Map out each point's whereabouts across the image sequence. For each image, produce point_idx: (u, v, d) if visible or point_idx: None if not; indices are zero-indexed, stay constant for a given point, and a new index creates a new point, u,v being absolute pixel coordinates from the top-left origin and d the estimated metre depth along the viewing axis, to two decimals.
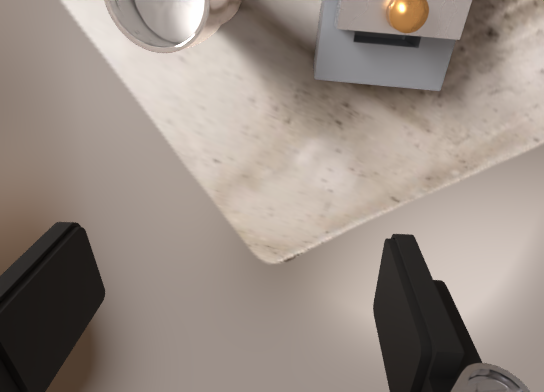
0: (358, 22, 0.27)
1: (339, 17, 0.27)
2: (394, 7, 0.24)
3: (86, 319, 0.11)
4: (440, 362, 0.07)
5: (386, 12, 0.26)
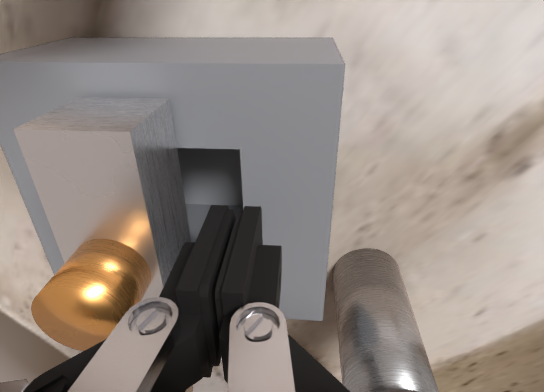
0: (52, 182, 0.10)
1: (44, 131, 0.09)
2: (77, 290, 0.09)
3: None
4: (228, 302, 0.08)
5: (95, 242, 0.10)
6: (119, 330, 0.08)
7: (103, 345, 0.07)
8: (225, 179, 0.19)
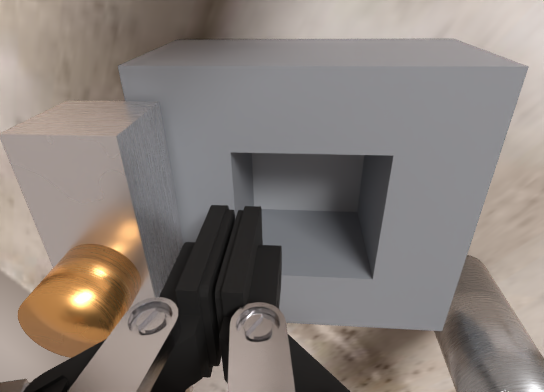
0: (39, 188, 0.10)
1: (30, 135, 0.09)
2: (63, 296, 0.09)
3: None
4: (228, 302, 0.08)
5: (83, 247, 0.10)
6: (119, 330, 0.08)
7: (103, 345, 0.07)
8: (325, 184, 0.18)
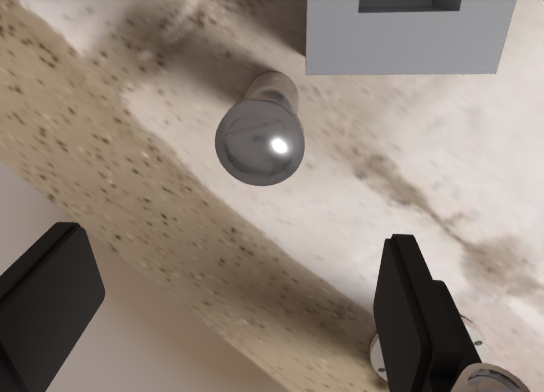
0: None
1: None
2: None
3: (86, 319, 0.11)
4: (440, 362, 0.07)
5: None
6: None
7: None
8: None
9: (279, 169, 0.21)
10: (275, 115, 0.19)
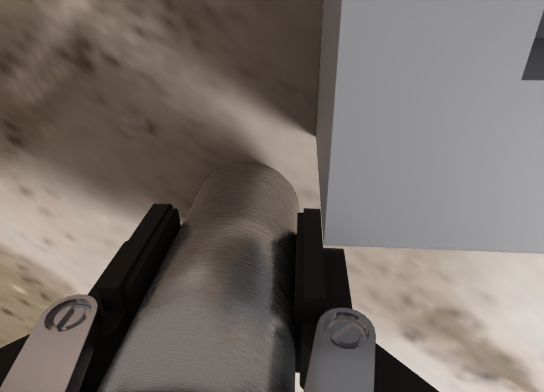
0: None
1: None
2: None
3: None
4: (309, 308, 0.08)
5: None
6: (37, 333, 0.08)
7: (22, 350, 0.07)
8: None
9: None
10: None
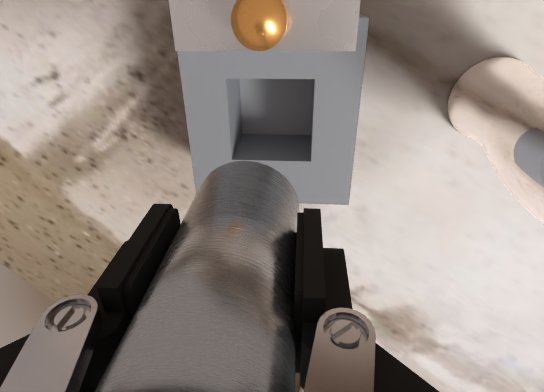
0: None
1: None
2: (284, 28, 0.16)
3: None
4: (309, 307, 0.08)
5: (288, 14, 0.17)
6: (37, 333, 0.08)
7: (22, 350, 0.07)
8: (261, 112, 0.28)
9: None
10: None
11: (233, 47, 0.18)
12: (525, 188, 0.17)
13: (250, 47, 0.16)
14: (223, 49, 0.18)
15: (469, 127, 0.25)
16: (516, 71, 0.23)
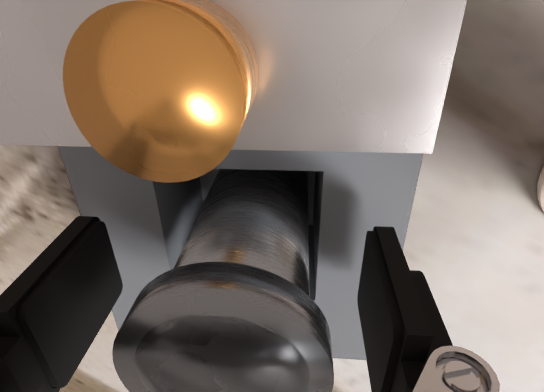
0: (368, 9, 0.06)
1: (456, 25, 0.06)
2: (237, 124, 0.05)
3: (106, 311, 0.12)
4: (411, 345, 0.07)
5: (257, 66, 0.06)
6: None
7: None
8: None
9: None
10: (259, 321, 0.07)
11: None
12: None
13: (139, 172, 0.05)
14: None
15: None
16: None
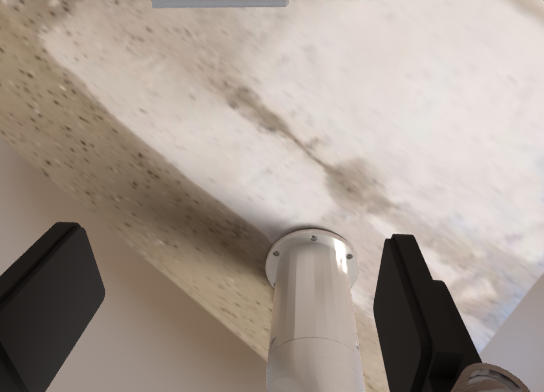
0: None
1: None
2: None
3: (86, 319, 0.11)
4: (440, 362, 0.07)
5: None
6: None
7: None
8: None
9: None
10: None
11: None
12: None
13: None
14: None
15: None
16: None
